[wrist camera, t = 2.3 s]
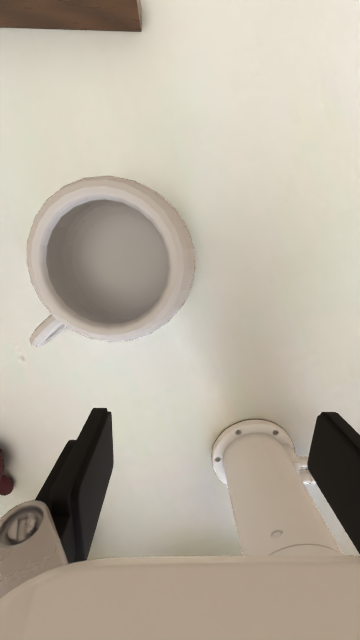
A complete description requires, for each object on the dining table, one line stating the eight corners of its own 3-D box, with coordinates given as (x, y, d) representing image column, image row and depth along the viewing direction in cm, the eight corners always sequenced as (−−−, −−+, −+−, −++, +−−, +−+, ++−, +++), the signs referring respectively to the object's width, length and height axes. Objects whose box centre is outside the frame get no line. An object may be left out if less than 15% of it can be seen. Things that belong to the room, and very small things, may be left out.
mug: (127, 157, 28) (101, 105, 19) (220, 268, 31) (239, 273, 22) (9, 283, 32) (-66, 295, 22) (103, 372, 35) (75, 416, 25)
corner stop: (141, -6, 25) (135, -48, 21) (146, 314, 33) (142, 321, 29) (-107, -14, 24) (-153, -58, 21) (-40, 311, 32) (-66, 318, 29)
